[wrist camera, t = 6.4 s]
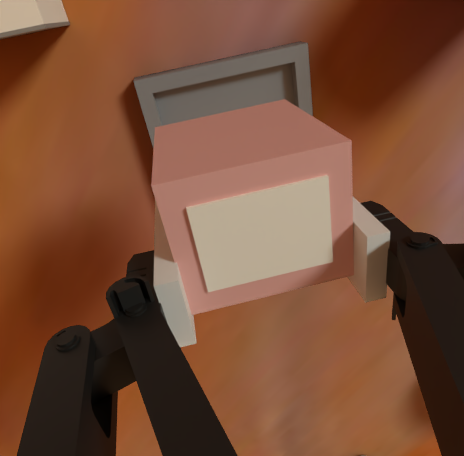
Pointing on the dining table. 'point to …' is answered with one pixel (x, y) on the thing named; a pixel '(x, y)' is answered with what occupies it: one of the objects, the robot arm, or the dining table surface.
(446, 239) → the dining table surface
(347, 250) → the stub
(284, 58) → the stub tray
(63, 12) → the grey-panelled beige block
